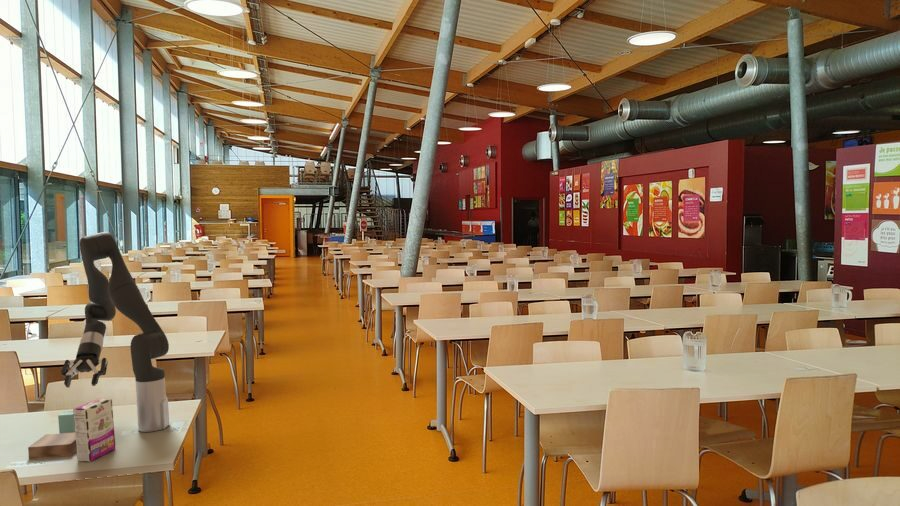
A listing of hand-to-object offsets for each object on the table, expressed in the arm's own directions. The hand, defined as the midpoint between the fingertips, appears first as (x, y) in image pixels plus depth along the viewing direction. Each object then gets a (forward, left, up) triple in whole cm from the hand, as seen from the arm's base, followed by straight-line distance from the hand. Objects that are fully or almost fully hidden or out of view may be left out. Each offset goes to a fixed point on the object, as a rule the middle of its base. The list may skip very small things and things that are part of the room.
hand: (80, 385), depth 233 cm
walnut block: (-2, +25, -15) cm, 29 cm away
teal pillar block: (0, +11, -14) cm, 18 cm away
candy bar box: (-16, +33, -15) cm, 40 cm away
